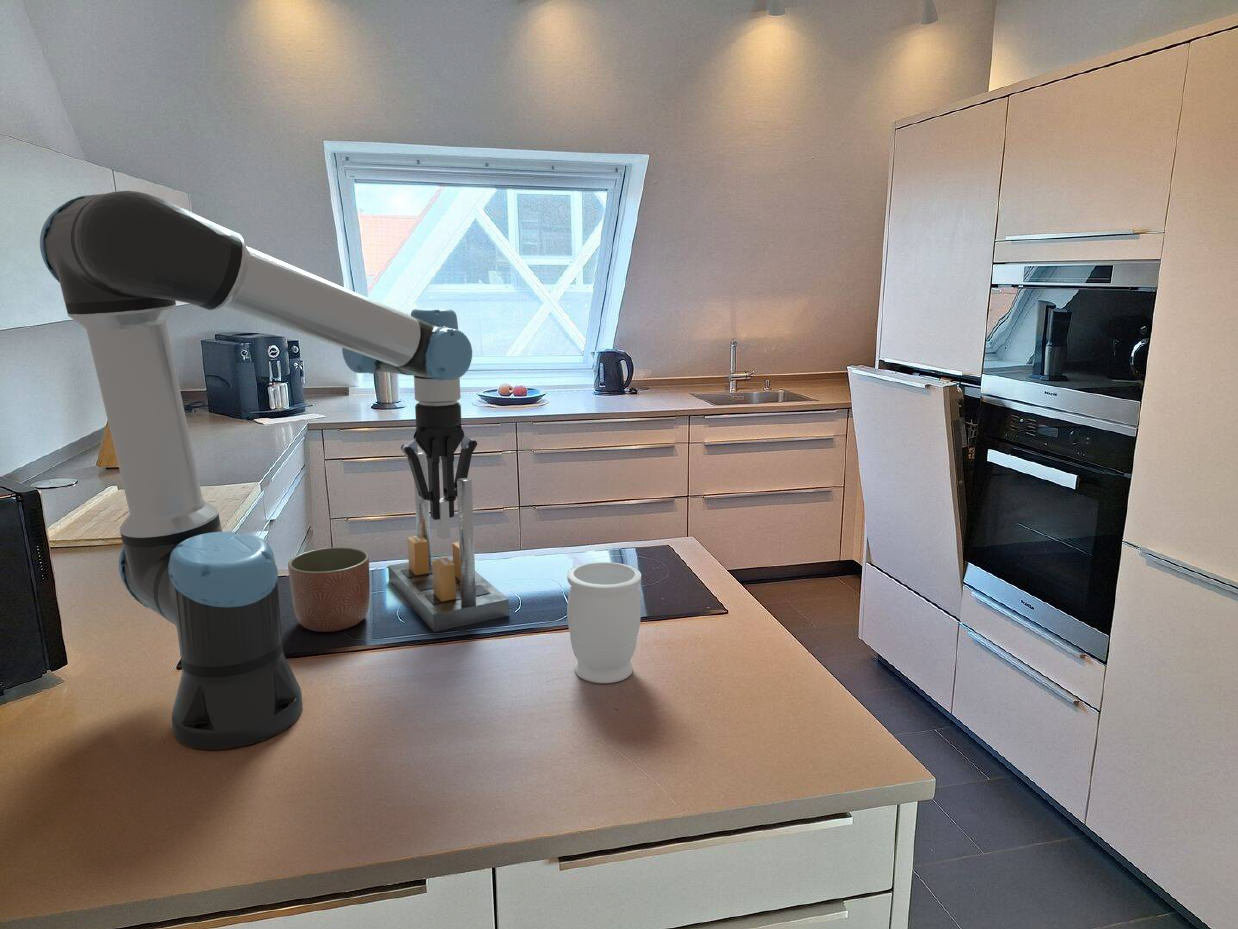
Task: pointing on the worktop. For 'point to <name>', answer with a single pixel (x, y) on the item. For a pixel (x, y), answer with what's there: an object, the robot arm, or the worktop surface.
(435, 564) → the slotted wooden block
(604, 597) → the jar
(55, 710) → the worktop surface
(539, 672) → the worktop surface
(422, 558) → the tan wooden block
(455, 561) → the tan upright block
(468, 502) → the peg stand with blocks
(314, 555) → the planter
